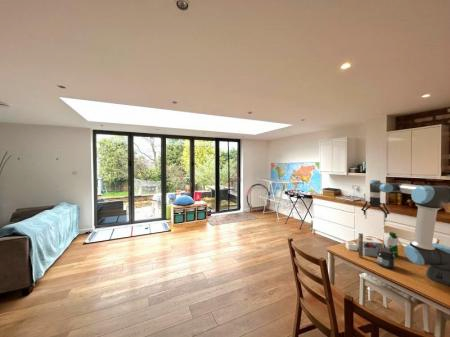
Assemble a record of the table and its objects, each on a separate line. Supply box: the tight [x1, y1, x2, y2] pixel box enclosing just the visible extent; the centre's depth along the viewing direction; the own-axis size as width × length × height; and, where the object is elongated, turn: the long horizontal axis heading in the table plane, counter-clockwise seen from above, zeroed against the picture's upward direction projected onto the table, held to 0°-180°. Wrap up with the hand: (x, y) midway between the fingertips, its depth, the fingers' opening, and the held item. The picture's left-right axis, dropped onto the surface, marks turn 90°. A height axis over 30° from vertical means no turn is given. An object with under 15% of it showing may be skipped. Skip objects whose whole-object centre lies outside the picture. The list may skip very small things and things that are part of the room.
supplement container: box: [376, 247, 396, 270], centre depth 143 cm, size 10×10×12 cm
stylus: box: [358, 233, 364, 259], centre depth 156 cm, size 3×3×20 cm
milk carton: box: [382, 231, 400, 258], centre depth 161 cm, size 9×9×20 cm
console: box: [356, 235, 384, 258], centre depth 165 cm, size 16×14×12 cm
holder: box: [345, 241, 358, 251], centre depth 173 cm, size 7×7×5 cm
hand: (374, 219), depth 170 cm, fingers open, 13 cm apart
